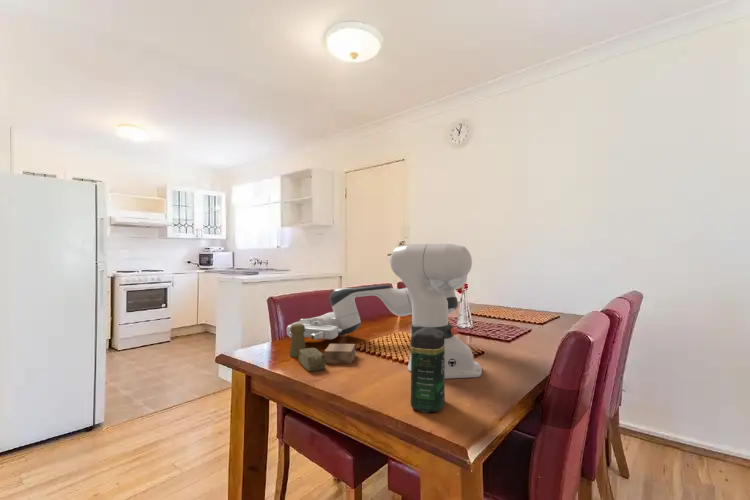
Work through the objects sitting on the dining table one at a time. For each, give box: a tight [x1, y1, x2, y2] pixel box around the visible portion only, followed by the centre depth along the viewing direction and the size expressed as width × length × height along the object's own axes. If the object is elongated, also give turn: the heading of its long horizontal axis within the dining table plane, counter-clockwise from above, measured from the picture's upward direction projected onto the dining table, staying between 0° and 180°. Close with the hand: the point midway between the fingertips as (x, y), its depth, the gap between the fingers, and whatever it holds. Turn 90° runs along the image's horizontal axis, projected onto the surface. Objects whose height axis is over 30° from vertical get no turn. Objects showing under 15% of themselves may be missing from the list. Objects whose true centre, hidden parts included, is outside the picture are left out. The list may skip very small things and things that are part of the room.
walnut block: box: [323, 343, 356, 365], centre depth 127 cm, size 9×9×4 cm
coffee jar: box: [410, 327, 446, 413], centre depth 90 cm, size 10×8×19 cm
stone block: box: [298, 347, 326, 372], centre depth 120 cm, size 6×12×5 cm, turn 28°
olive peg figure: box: [289, 323, 307, 359], centre depth 132 cm, size 6×6×11 cm
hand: (301, 336), depth 136 cm, fingers open, 8 cm apart
